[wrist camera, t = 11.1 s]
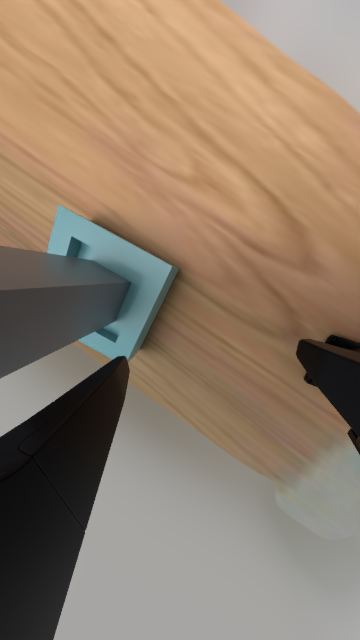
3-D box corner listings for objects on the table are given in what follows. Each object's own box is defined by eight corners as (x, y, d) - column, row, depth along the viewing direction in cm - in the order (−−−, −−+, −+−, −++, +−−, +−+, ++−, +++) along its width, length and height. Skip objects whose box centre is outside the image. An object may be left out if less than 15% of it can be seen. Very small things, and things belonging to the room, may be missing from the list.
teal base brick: (179, 268, 20) (172, 266, 16) (139, 349, 23) (124, 366, 19) (90, 220, 20) (58, 204, 16) (63, 307, 23) (31, 314, 19)
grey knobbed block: (131, 282, 18) (-34, 292, 5) (115, 321, 19) (-47, 401, 7) (90, 259, 18) (-168, 219, 5) (77, 300, 19) (-154, 342, 7)
